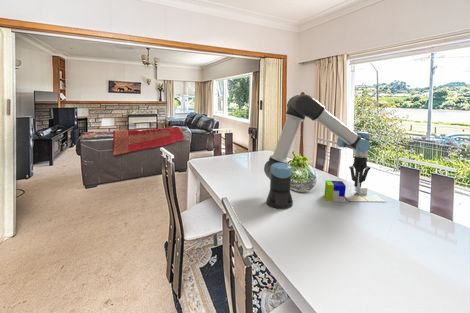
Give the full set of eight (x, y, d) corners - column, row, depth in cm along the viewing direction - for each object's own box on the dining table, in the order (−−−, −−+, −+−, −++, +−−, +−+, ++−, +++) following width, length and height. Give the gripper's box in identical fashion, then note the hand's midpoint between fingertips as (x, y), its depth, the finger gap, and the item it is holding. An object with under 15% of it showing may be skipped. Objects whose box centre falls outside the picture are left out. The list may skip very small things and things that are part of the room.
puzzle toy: (344, 202, 152) (345, 186, 150) (326, 200, 154) (328, 185, 152) (340, 196, 162) (342, 181, 160) (324, 195, 164) (325, 180, 161)
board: (349, 201, 152) (349, 201, 152) (342, 195, 163) (342, 194, 163) (386, 202, 152) (386, 201, 152) (376, 195, 163) (376, 195, 163)
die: (359, 194, 164) (360, 188, 164) (356, 192, 169) (357, 185, 168) (366, 194, 164) (367, 188, 163) (363, 192, 169) (364, 185, 168)
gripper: (353, 157, 158) (349, 193, 163) (374, 157, 158) (369, 193, 163) (348, 155, 166) (344, 189, 170) (368, 155, 165) (364, 189, 170)
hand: (357, 191), depth 166 cm, fingers closed
